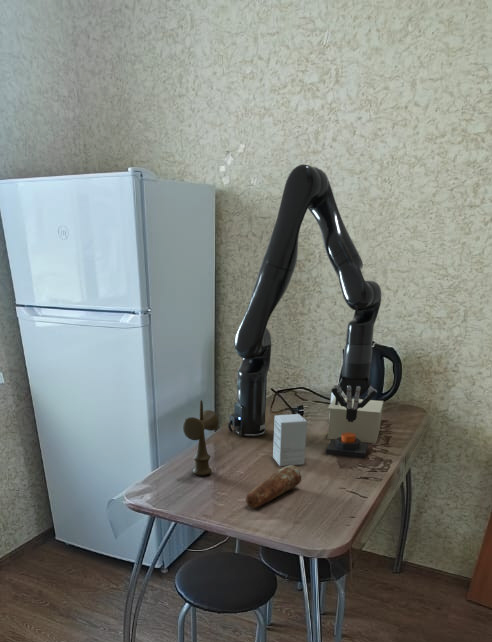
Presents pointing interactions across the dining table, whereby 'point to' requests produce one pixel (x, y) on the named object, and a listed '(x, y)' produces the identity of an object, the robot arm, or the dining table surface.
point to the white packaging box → (289, 439)
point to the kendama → (201, 437)
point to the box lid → (369, 408)
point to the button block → (347, 448)
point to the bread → (274, 486)
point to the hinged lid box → (355, 426)
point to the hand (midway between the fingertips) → (351, 421)
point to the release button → (348, 437)
